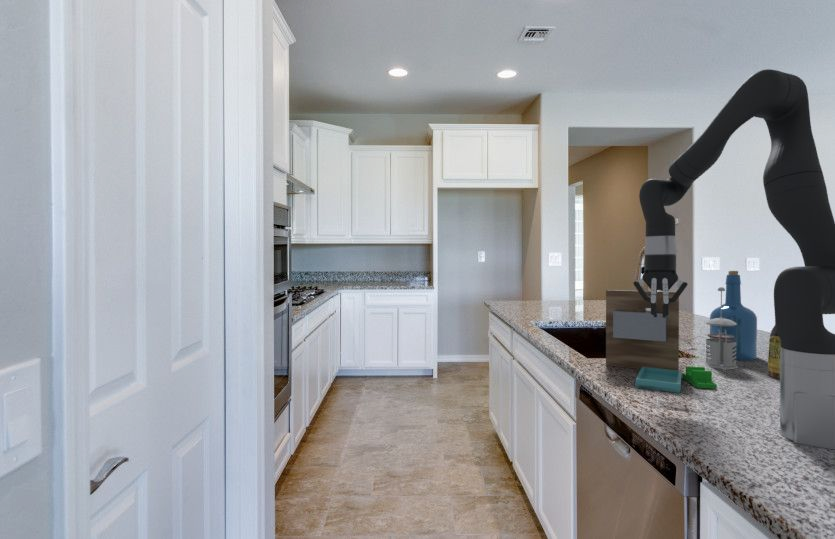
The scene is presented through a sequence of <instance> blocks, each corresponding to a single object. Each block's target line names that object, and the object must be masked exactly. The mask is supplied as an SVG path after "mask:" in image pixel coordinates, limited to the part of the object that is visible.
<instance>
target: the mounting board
mask: <svg viewBox="0 0 835 539" xmlns="http://www.w3.org/2000/svg"><path fill="white" fill-rule="evenodd" d="M645 292H646V293H647V295H648V296H649V297H651V290H645ZM675 293H676V291H669V298H671V297H673V296H674V294H675ZM656 303H657V311H658V312H662V304H663V291H662V290H657V300H656ZM645 308H651V303H650V302H648V301H645V300H644V299H643V298H642V296H641V295H640V293H639V292H638V290H621V289H620V290H619V289H618V290H616V289H607V290H605V366H611V367H620V368H629V369H637V370H639V369H640V370H641V368H642V367H649V368H658V369H667V370H676V371H680V369H679V368H680V363H679V362H680V355H679V354H680V348H679V347H680V320H679V319H680V296H679V297H678V299H677V300H676V301H675V302H671V303H669V314H668V316H667V340H666V342H664V341H652V340H639V339H627V338H614V337H613V311H614V310H637V311H645Z"/></svg>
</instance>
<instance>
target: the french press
mask: <svg viewBox="0 0 835 539" xmlns="http://www.w3.org/2000/svg"><path fill="white" fill-rule="evenodd" d="M717 291H718V292H720V306H721V317H720V318H714V319H711V320H710V319H709V320H707V321H705V325H709V326H710V325H715V326H721V333H720V329H718V332H719V334H710V333H708V334H707V337H709V338H706V339H705V348H706V349H705V352H706V353H705V362H703V365H704V366H706V367H710V368H714V369H721V370H735V368H736V369H738V368H739V366H738V365H737V360H734V359H736V356H735V357H732V356H734V355H736V352H735V353H732V352H734V351H736V348H735V349H732V348H733V347H735V346H736V341H732V340H727V339H734V338H735V337H734V336H732V335H725V333H726V329H725V333H722V326H735V325H737V324H736V323H735V322H733V321H731V320H729V319H724V318H722V305H723V293H722V292H726V288H725V287H718V288H717ZM722 334H724V335H722ZM710 337H711V338H717V339H710ZM710 346H711V348H710ZM710 350H711V351H710ZM710 354H711V355H710Z"/></svg>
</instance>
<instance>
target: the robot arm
mask: <svg viewBox="0 0 835 539" xmlns="http://www.w3.org/2000/svg"><path fill="white" fill-rule="evenodd" d="M809 102H810V101H809V94H808V88H807V85H806V82H804V80H803V79H802V78H800V77H799V76H798V75H795V74H793V73H787V72H783V71H780V70H777V69H771V68H770V69H769V68H766V69H761V70H759V71H757V72H755V73H753V74H751V75H750V76H749V77H748V78H746V80H745V81H743V83H742V84H741V85H740V86H739V87H738V88H737V90H736V91H735V92H734V93H733V94H732V96H731V97H730V98H729V100H728V101H727V102H726V103H725V105H724V106H723V107H722V108H721V110H720V111H719V112H718V113H717V114H716V116H715V117H714V118H713V119H712V120H711V122H710V123H709V125H708V126H707V127H706V129H704V131H703V132H702V133H701V135H700V136H698V138H696V140H695V141H694V142H693V143H692V144H691V145H689V147H688V148H687V149H686V150H685V151H684V152H682V154H680V155H679V156H678V158H676V159H675V160H674V161H673V162H672V163H671V165H670V166H669V167H668V174H669V176H670V177H669V178H667V179H661V178H649V179H647V180H646V181H644V183H643V184H642V185H641V186H640V190H639V195H638V199H639V204H640V207H641V211H642V214H643V219H644V221H645V241H644V272H643V274H642V278H640V279H638V280H635V281H633V286H634V287H635V288H636V291H638V292H639V293H640V295H641V296H642V298H643V299H644V300H645V301H648V302H650V303H651V314H652V315H654V317H657V303H656V300H657V291H663V304H662V317H663V318H666V316H668V314H669V303H671V302H675V301H676V300H677V299H678V297H679V298H680V296H681V295H682V293H683V292H684V291H685V290H686V288H687V287H688V285H689V284H688V282H687V281H684V280H682V279H680V278H679V276H678V274H677V252H678V250H677V240H676V219H675V217H674V216H673V215H672V214H670V213H668V212H667V211H666V208H665V207H669V206H673V205H675V204H677V203H678V202H679V201H681V200H682V199H683V198H684V196H685V195H686V194H687V192H688V191H689V189H690V188H691V187H692V185H693V183H695V181H696V180H698V179H699V178H700V177H701V176H702V175H703V174H705V173H706V172H707V171H708V170H709V169H711V167H712V166H714V164H716V162H717V161H718V160H719V158H720V157H721V155H722V154H723V151H724V149H725V147H726V144H727V143H728V141H729V140H730V138H732V135H733V134H734V133H735V132H736V131H737V130H738V129H739V128H740V127H741V126H743V125H744V124H745V123H747V122H748V121H749V120H752V118H754V117H755V118H758V119H759V118H760V119H763V120H764V122H765V124H766V126H767V129H768V134H769V137H770V153H769V156H768V159H767V162H766V164H765V167H764V171H763V175H762V183H763V188H764V193H765V198H766V203H767V206H768V209H769V211H770V213H771V215H772V216H773V217H774V219H776V221H777V222H778V223H779V224H780V226H781V227H782V228H783V229H784V230H785V231H786V232H787V233H788V235H790V237H791V238H792V239H793V240H794V242H795V243H796V245H797V246H798V248H799V250H800V253H801V256H802V259H803V264H804V266H791V267H788V268H785V269H784V270H782V271H781V272H780V273H779V274H778V275H777V278H776V279H775V281H774V288H773V306H774V307H773V308H774V326H776V331H777V333H778V336H779V338H780V346H781V347H780V379H779V433H780V435H781V436H782V437H784V438H786V439H788V440H790V441H792V442H794V444H798V445H804V446H810V447H817V448H823V449H824V448H825V449H828V450H834V451H835V333H833V332H831V331H829V330H828V329H827V328H826V327H825V325H824V324H825V323H824V316H823V315H835V218H834V215H833V211H832V208H831V204H830V200H829V194H828V190H827V189H828V188H827V185H826V181H825V177H824V173H823V169H822V166H821V163H820V159H819V156H818V151H817V146H816V142H815V139H814V138H815V137H814V135H813V130H812V126H811V125H812V124H811V114H810V111H811V110H810V103H809ZM644 282H645V284H646V286H647V287H648V289H650V291H651V297H649V296H648V295H647V293H646V292H645V291H646V290H645V289H644ZM676 283H677V285H676V287H677V288H678V289H677V290H676V291H675V292H676V293H675V294H674V296H673V297H671V298H669V292H670V290H671V289H672V287H673V286H674V285H675V284H676Z"/></svg>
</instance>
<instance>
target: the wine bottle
mask: <svg viewBox="0 0 835 539" xmlns="http://www.w3.org/2000/svg"><path fill="white" fill-rule="evenodd" d="M727 273H728V274H727V275H726V277H725V283H724V284H725V300H724V301H725V303H722V318H724V319H729V320H731V321H733V322H735V323H736V324H737V325H735V326H722V333H725V329H726V333H725V335H732V336H734V337H735V338H734V339H727V340H732V341H736V346H735V347H733V348H732V349H735V348H736V351H734V352H732V353H735V352H736V355H734V356H732V357H735V356H736V359H734V360H733V361H735V360H736V361H752V360H751V359H754V360H757V357H758V316H757V315H756V313H755V312H754V311H753V310H752V309H750V308H748V307H746V306H744V305H743V304H742V295H741V294H742V293H741V285H742V282H741V274H739V271H738V270H729V271H728V272H727ZM720 317H721V305H720V306H718V307H716V308H714V309H713V310H712V312H710V315H709V320H711V319H714V318H720ZM718 329H720V333H721V326H715V325H709V334H719V332H718ZM722 335H724V334H722ZM709 339H717V338H711V337H709ZM709 347H710V348H711V346H709ZM709 351H711V350H709Z"/></svg>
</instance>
